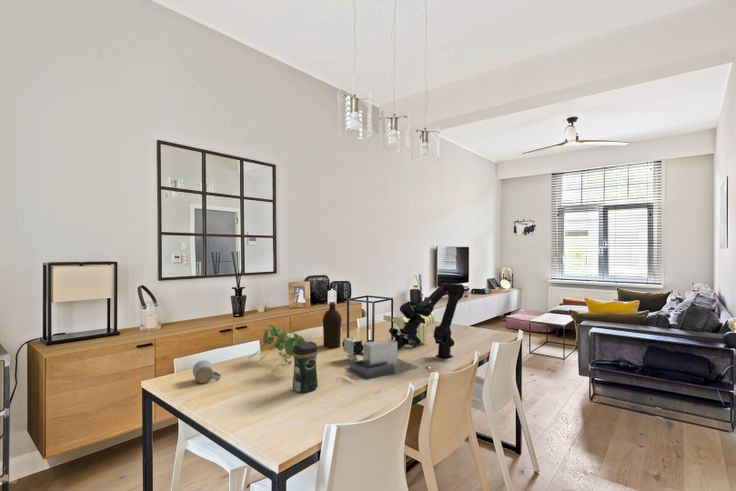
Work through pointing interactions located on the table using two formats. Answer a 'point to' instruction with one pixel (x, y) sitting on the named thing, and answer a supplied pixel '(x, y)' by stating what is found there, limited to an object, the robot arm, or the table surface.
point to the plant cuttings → (287, 342)
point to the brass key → (429, 368)
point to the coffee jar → (305, 367)
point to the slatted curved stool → (421, 329)
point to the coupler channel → (379, 369)
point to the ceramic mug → (204, 372)
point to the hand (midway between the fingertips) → (394, 350)
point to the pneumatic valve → (352, 347)
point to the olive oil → (332, 327)
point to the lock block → (379, 353)
